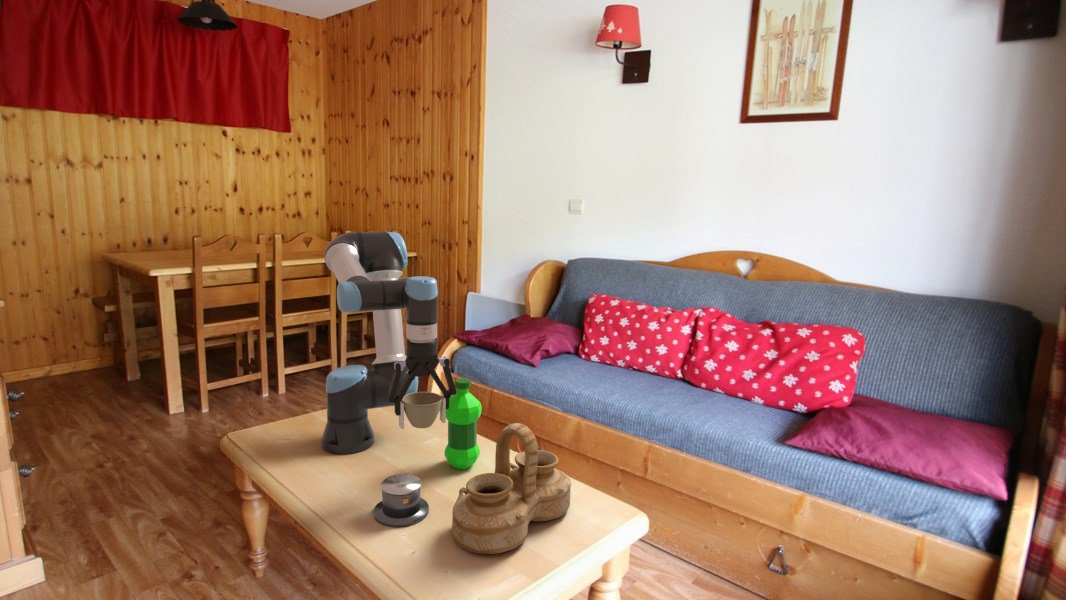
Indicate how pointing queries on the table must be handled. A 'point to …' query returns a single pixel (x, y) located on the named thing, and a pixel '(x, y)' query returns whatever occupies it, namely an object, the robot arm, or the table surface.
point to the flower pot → (422, 408)
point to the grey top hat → (401, 502)
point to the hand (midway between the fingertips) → (422, 423)
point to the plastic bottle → (462, 426)
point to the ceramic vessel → (510, 496)
